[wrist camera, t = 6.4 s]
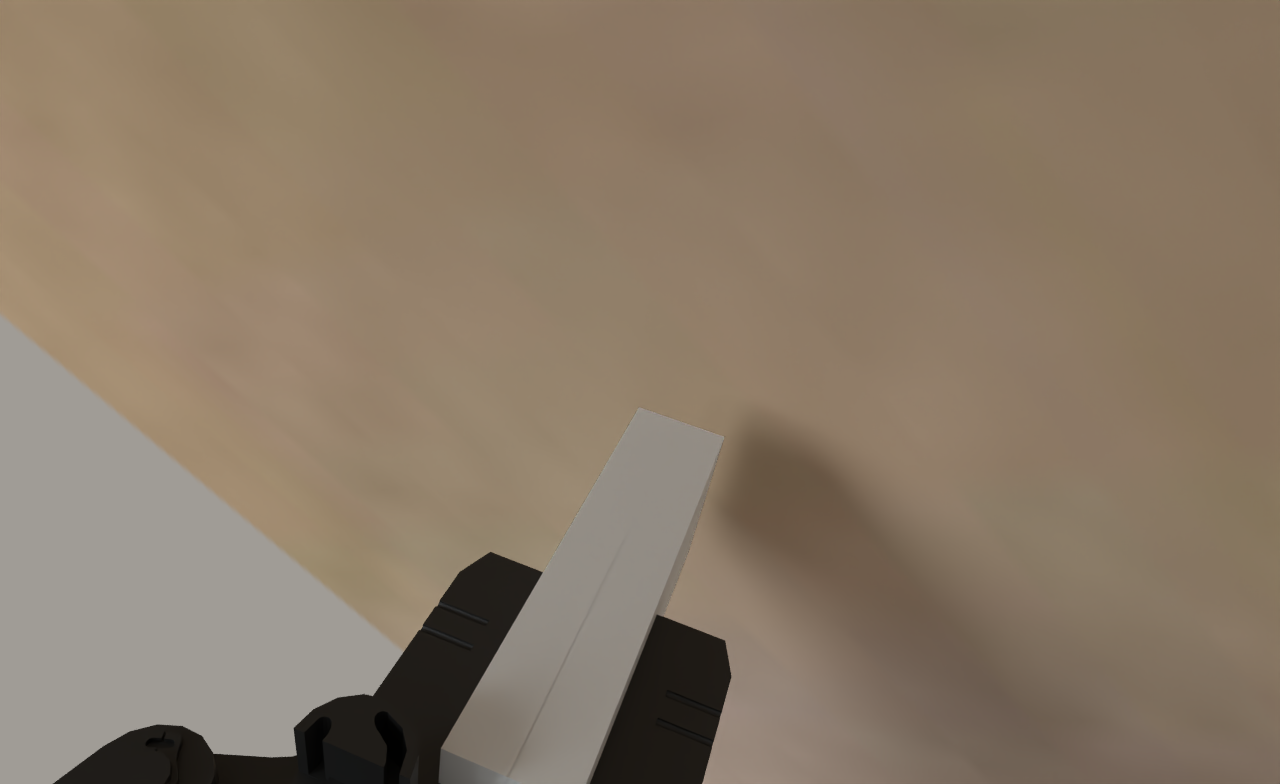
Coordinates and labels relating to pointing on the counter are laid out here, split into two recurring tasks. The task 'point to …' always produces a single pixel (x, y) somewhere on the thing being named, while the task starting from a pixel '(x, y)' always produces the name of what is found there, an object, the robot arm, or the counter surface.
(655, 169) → the counter surface
